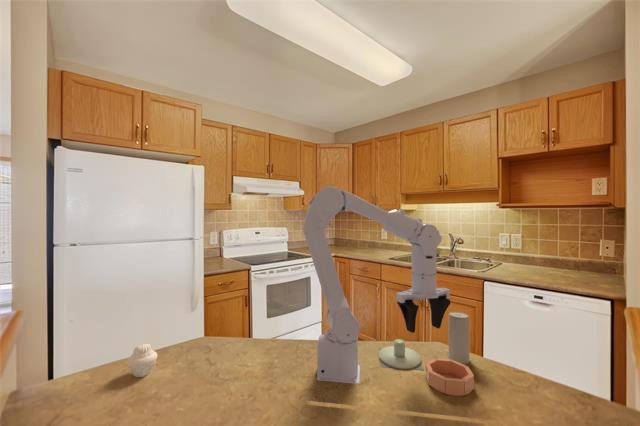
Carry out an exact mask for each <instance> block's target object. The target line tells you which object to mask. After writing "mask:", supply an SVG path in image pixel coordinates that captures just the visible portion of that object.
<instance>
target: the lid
mask: <svg viewBox="0 0 640 426" xmlns="http://www.w3.org/2000/svg"><path fill="white" fill-rule="evenodd" d="M381 348H382V349H381V350H380V351H379V350H378V351H379V352H378V358H379V361H380V360H381V361H382V362H383V363H385V364H386V365H388V366H391V367H394V368H393V369H400V370H412V369H411V368H415V367H417V366H419V365H420V363H421V364H422V356H421V355H420V354H419V353H418V351H417V352H415V351H416V350H413V349H412V348H409V347H406V341H405V340H404V339H401V338H400V339H399V338H398V339H397V338H396V339H394V340H393V345H391V346H385V347H381Z"/></svg>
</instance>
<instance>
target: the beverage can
mask: <svg viewBox="0 0 640 426" xmlns="http://www.w3.org/2000/svg"><path fill="white" fill-rule="evenodd" d="M447 321H448V328H447V329H448V359H451V360H454V361H456V362H459V363H461V364H464V365H467V364H469V363H470V318H469V314H467V313H465V312H462V311H450V312H448V320H447Z"/></svg>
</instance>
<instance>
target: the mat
mask: <svg viewBox="0 0 640 426" xmlns="http://www.w3.org/2000/svg"><path fill="white" fill-rule="evenodd" d="M382 348H383V347H379V348H378V351H380V350H381V349H382ZM414 351H415V352H417V353H418V351H417V350H414ZM379 363H380V367H381V368H389V369H395V368H394V367H391V366H388V365H386V364H385V363H383V362H382V361H381V360H380V359H379ZM410 370H413V371H414V370H416V371H424V368H423V365H422V362H421V363H420V365H419V366H417V367H415V368H411V369H410Z"/></svg>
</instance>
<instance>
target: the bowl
mask: <svg viewBox="0 0 640 426" xmlns="http://www.w3.org/2000/svg"><path fill="white" fill-rule="evenodd" d="M425 377H426V378H425V379H426V381H427V383H428V385H429V386H430V387H432V388H433V389H434V390H436V391H437V392H440V393H443V394H445V395H449V396H456V397H457V396H458V397H462V396H466V395H469V394H471V393H472V391H473V390H474V389H475V375H474V374H473V372H472V370H471V369H470V367H469V366H467V364H461V363H459V362H456V361H454V360H451V359H449V358H438V357H437V358H433V359H430V360H428V361H427V362H425Z"/></svg>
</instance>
